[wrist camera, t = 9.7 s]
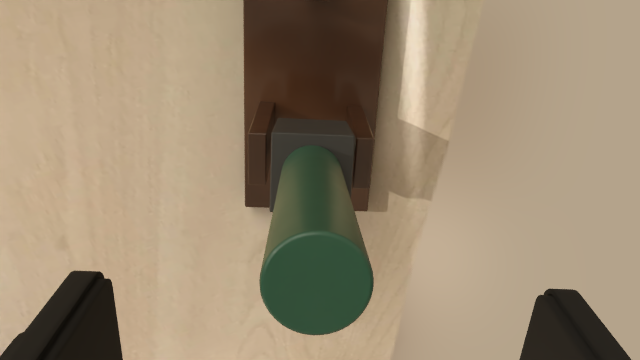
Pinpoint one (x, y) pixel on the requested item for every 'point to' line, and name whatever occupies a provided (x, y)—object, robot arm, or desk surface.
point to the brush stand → (311, 79)
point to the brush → (314, 230)
